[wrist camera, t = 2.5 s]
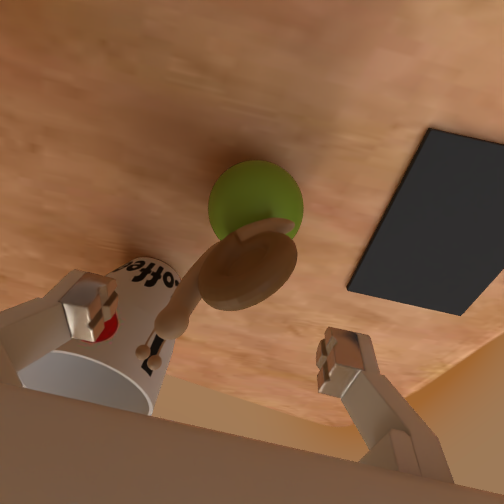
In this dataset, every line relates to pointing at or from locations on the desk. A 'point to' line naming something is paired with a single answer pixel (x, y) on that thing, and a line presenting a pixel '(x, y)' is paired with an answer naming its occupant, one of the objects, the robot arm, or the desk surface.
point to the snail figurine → (238, 248)
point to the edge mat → (440, 227)
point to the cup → (115, 346)
